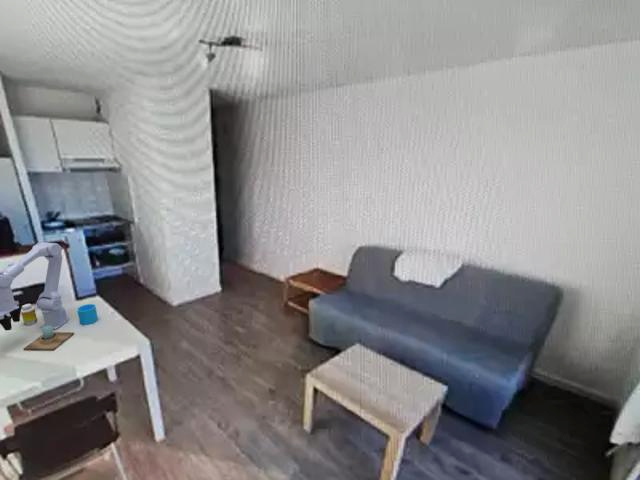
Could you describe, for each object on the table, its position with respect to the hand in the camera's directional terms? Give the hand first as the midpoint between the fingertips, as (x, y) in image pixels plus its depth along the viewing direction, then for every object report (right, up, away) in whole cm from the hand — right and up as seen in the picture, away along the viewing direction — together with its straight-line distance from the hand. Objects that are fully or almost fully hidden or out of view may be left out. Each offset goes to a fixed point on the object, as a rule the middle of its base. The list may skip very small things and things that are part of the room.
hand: (12, 325), depth 164 cm
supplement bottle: (-10, -4, +22) cm, 25 cm away
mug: (+18, -3, +26) cm, 32 cm away
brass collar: (+13, -9, +6) cm, 17 cm away
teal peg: (+13, -8, +5) cm, 16 cm away
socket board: (+13, -9, +6) cm, 17 cm away
